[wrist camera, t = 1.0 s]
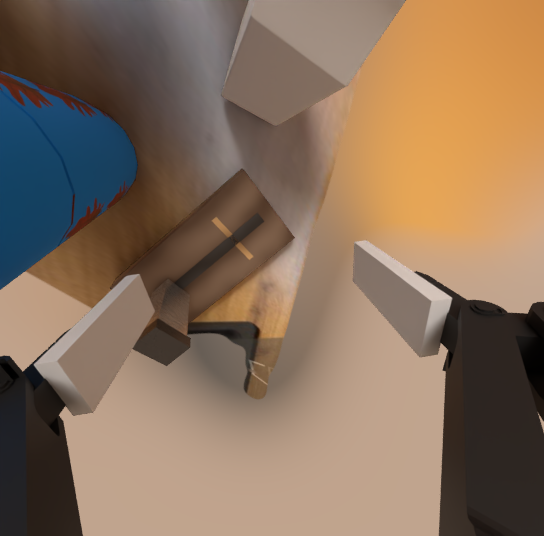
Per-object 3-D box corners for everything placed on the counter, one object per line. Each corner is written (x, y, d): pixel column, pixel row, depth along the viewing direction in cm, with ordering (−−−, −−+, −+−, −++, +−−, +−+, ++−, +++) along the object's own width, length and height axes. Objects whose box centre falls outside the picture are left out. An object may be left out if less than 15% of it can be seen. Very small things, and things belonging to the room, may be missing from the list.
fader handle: (149, 291, 33) (130, 347, 24) (167, 276, 32) (155, 327, 24) (175, 309, 35) (166, 365, 26) (192, 294, 35) (190, 347, 26)
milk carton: (275, 127, 29) (391, 62, 12) (220, 96, 26) (272, -45, 9) (297, 63, 27) (467, -114, 10) (241, 23, 24) (350, -311, 8)
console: (115, 279, 34) (109, 288, 31) (241, 168, 31) (244, 170, 29) (180, 321, 40) (179, 331, 38) (289, 232, 37) (295, 238, 35)
